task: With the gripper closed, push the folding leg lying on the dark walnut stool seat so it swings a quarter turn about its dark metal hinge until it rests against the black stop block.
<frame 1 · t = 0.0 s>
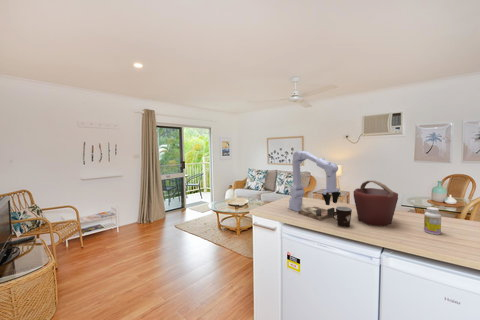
hand: (331, 204, 135), 10 cm above the worktop, tool pointing down, fingers open, 7 cm apart
supplement bottle: (432, 232, 113), on the worktop
stool seat: (317, 214, 147), on the worktop
folding leg: (309, 210, 145), point 4 cm above the worktop, hinge at 0.0°
coffee mug: (340, 225, 126), on the worktop
bucket: (373, 221, 131), on the worktop
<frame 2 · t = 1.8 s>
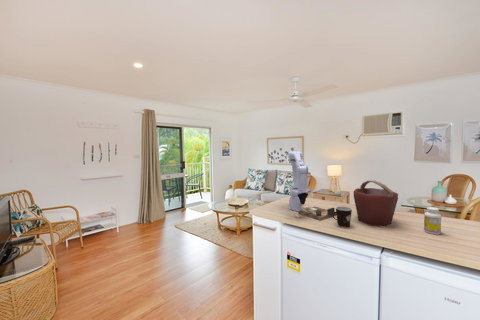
hand: (302, 204, 141), 9 cm above the worktop, tool pointing down, fingers closed
nothing on the worktop moved.
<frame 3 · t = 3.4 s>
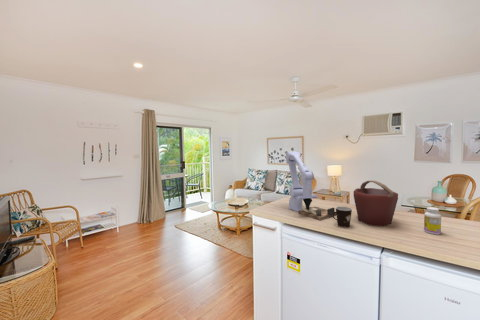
hand: (307, 209, 144), 4 cm above the worktop, tool pointing down, fingers closed, pressing on folding leg
folding leg: (310, 209, 145), point 4 cm above the worktop, hinge at 2.9°, touching gripper
everything else where it was.
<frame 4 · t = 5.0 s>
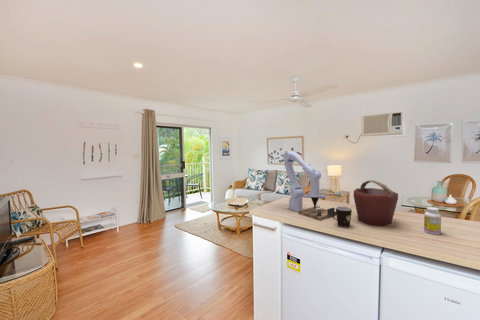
hand: (314, 208, 146), 4 cm above the worktop, tool pointing down, fingers closed, pressing on folding leg
folding leg: (317, 209, 146), point 4 cm above the worktop, hinge at 45.7°, touching gripper
everything else where it was.
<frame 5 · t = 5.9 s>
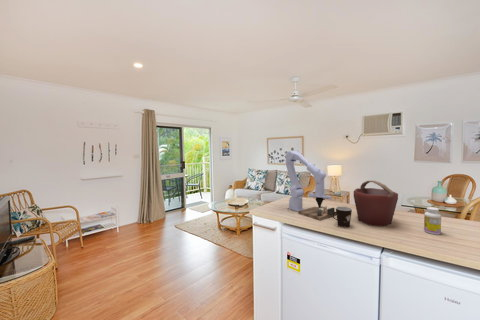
hand: (319, 208, 146), 4 cm above the worktop, tool pointing down, fingers closed, pressing on folding leg
folding leg: (322, 209, 144), point 4 cm above the worktop, hinge at 68.6°, touching gripper
everything else where it was.
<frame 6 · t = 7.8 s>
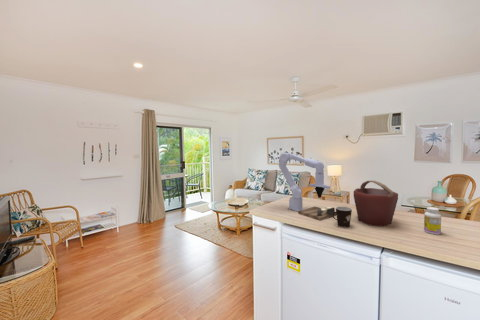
hand: (319, 197, 153), 10 cm above the worktop, tool pointing down, fingers closed
folding leg: (326, 210, 142), point 4 cm above the worktop, hinge at 89.7°
everything else where it was.
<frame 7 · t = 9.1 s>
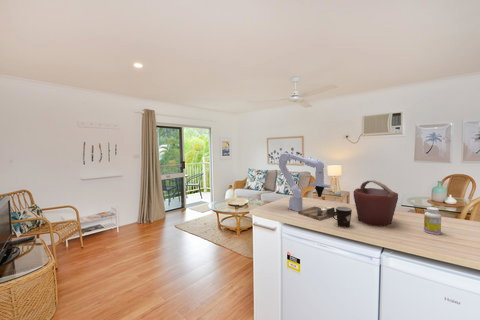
hand: (319, 196, 154), 10 cm above the worktop, tool pointing down, fingers closed
nothing on the worktop moved.
at the end: folding leg at +90° (first picture: +0°) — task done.
